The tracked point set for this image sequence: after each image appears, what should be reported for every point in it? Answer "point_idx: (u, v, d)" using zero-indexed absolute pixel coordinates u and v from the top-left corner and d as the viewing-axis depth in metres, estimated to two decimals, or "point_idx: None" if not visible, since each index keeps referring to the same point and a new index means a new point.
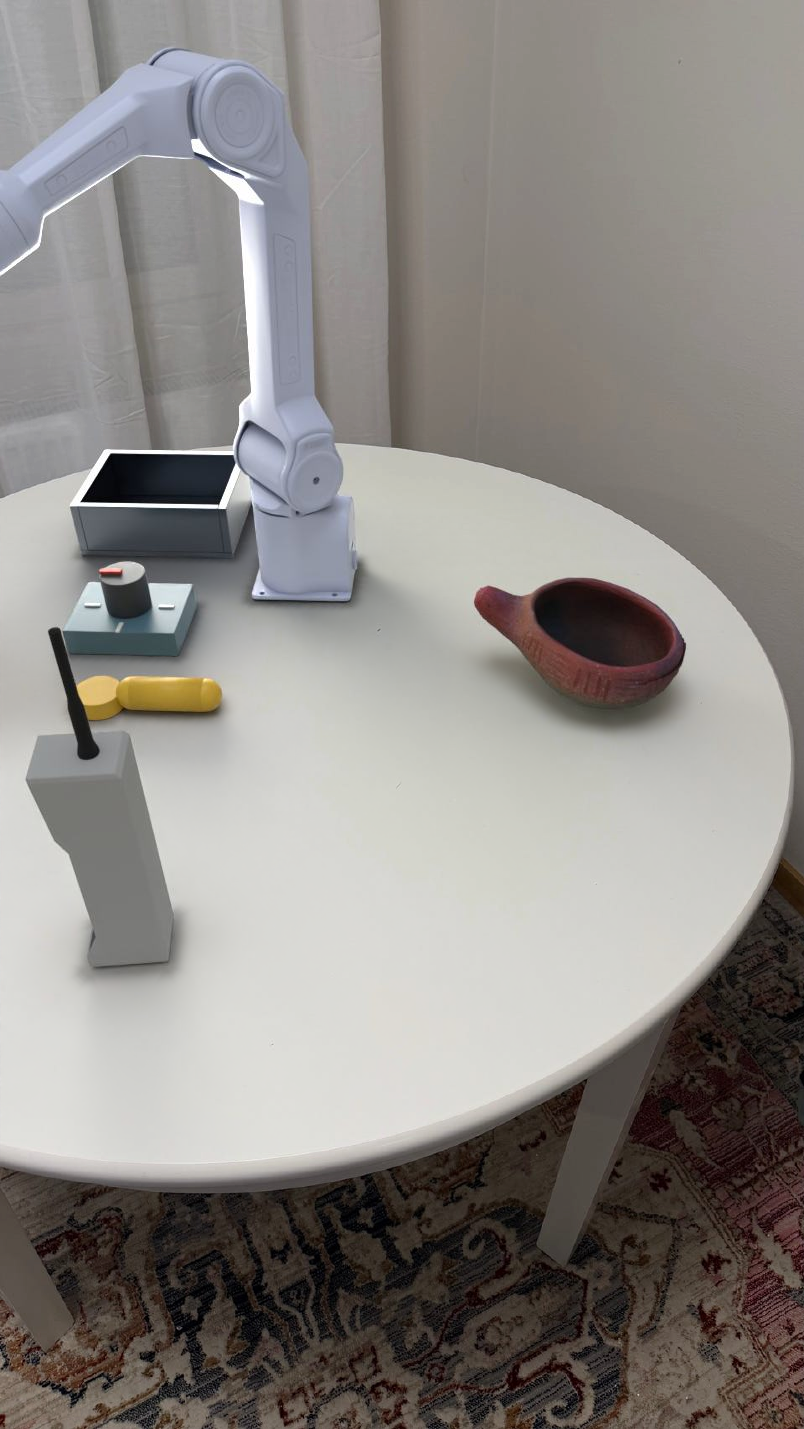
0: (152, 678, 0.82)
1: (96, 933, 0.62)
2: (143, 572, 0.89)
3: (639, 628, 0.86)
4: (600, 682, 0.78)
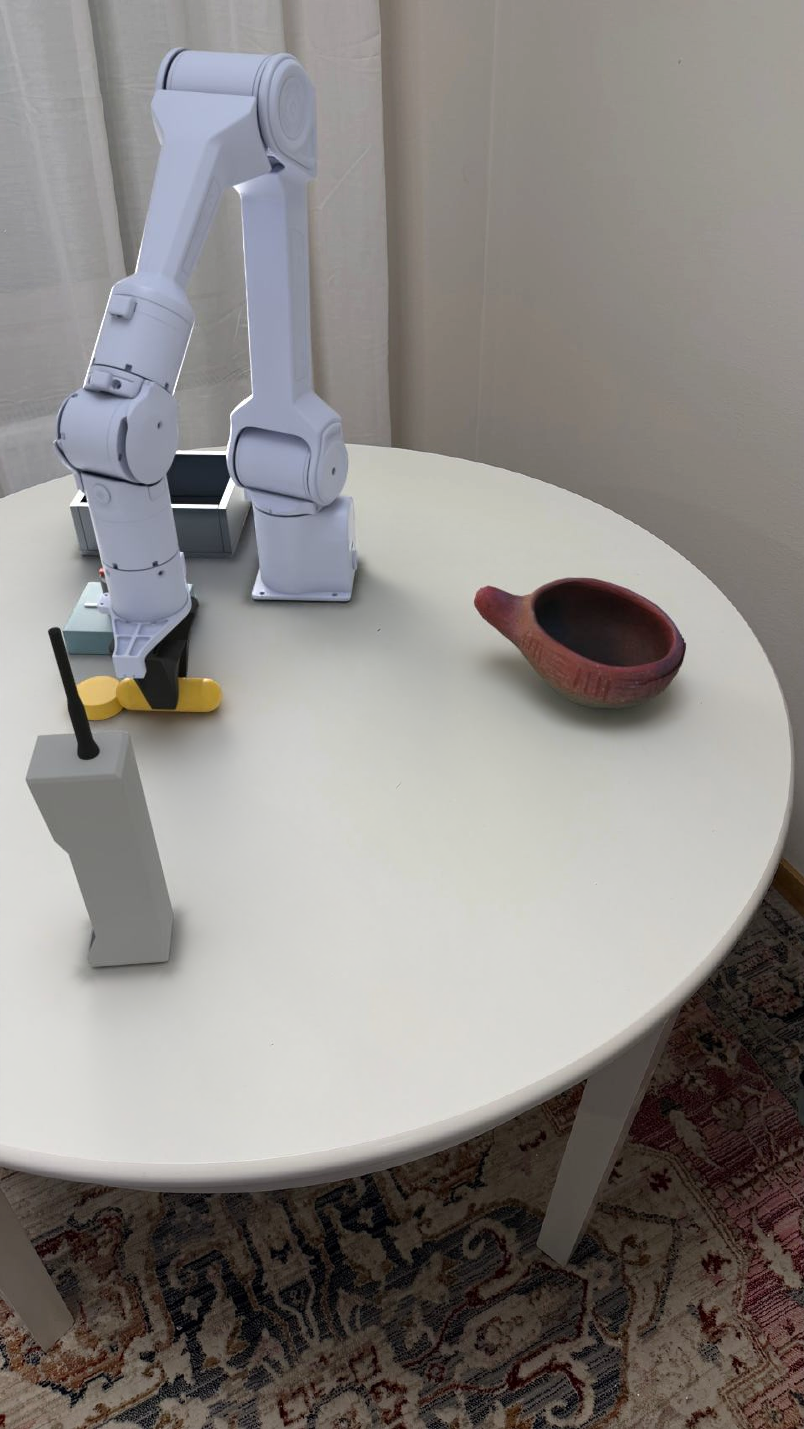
0: None
1: (96, 933, 0.62)
2: None
3: (639, 628, 0.86)
4: (600, 682, 0.78)
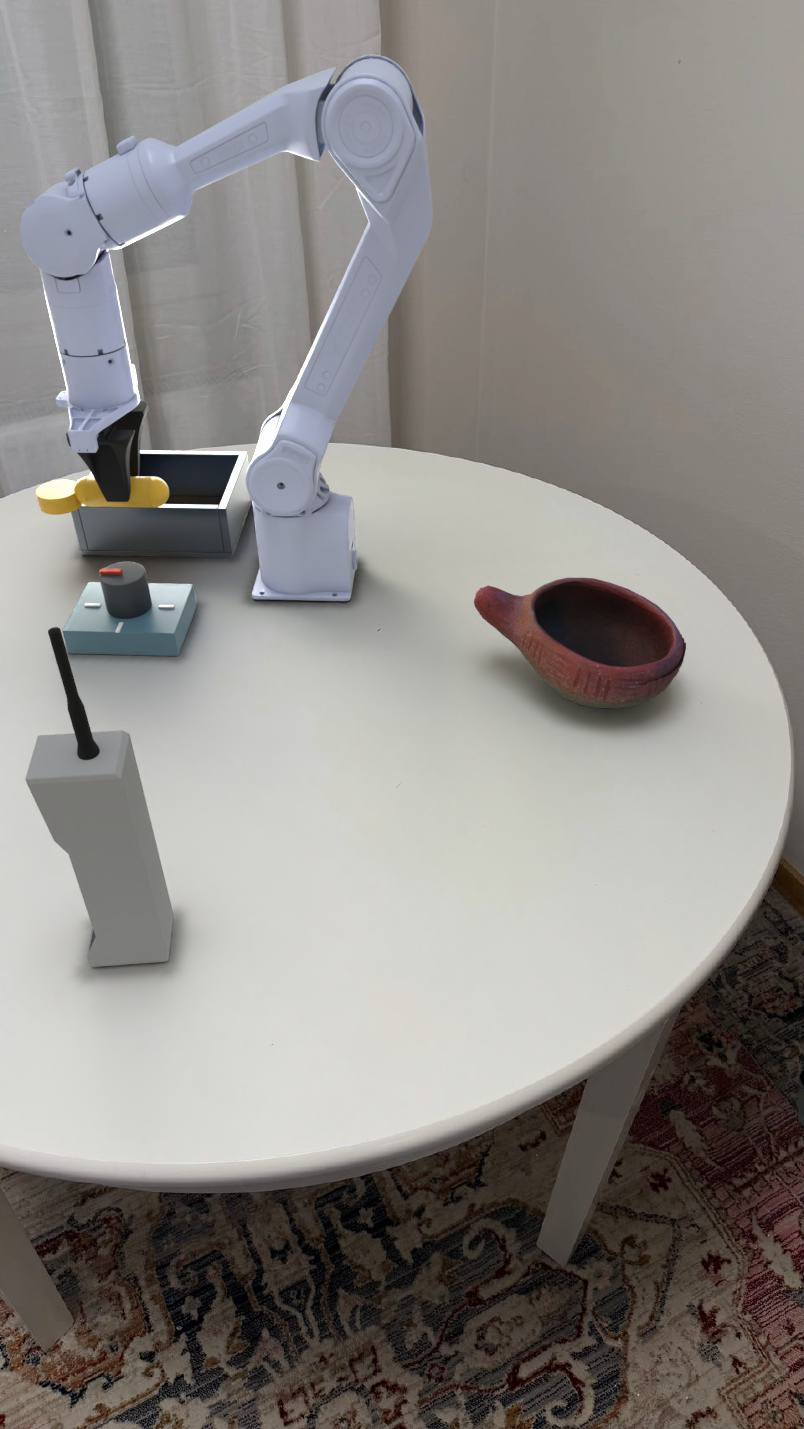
0: None
1: (96, 933, 0.62)
2: (143, 572, 0.89)
3: (639, 628, 0.86)
4: (600, 682, 0.78)
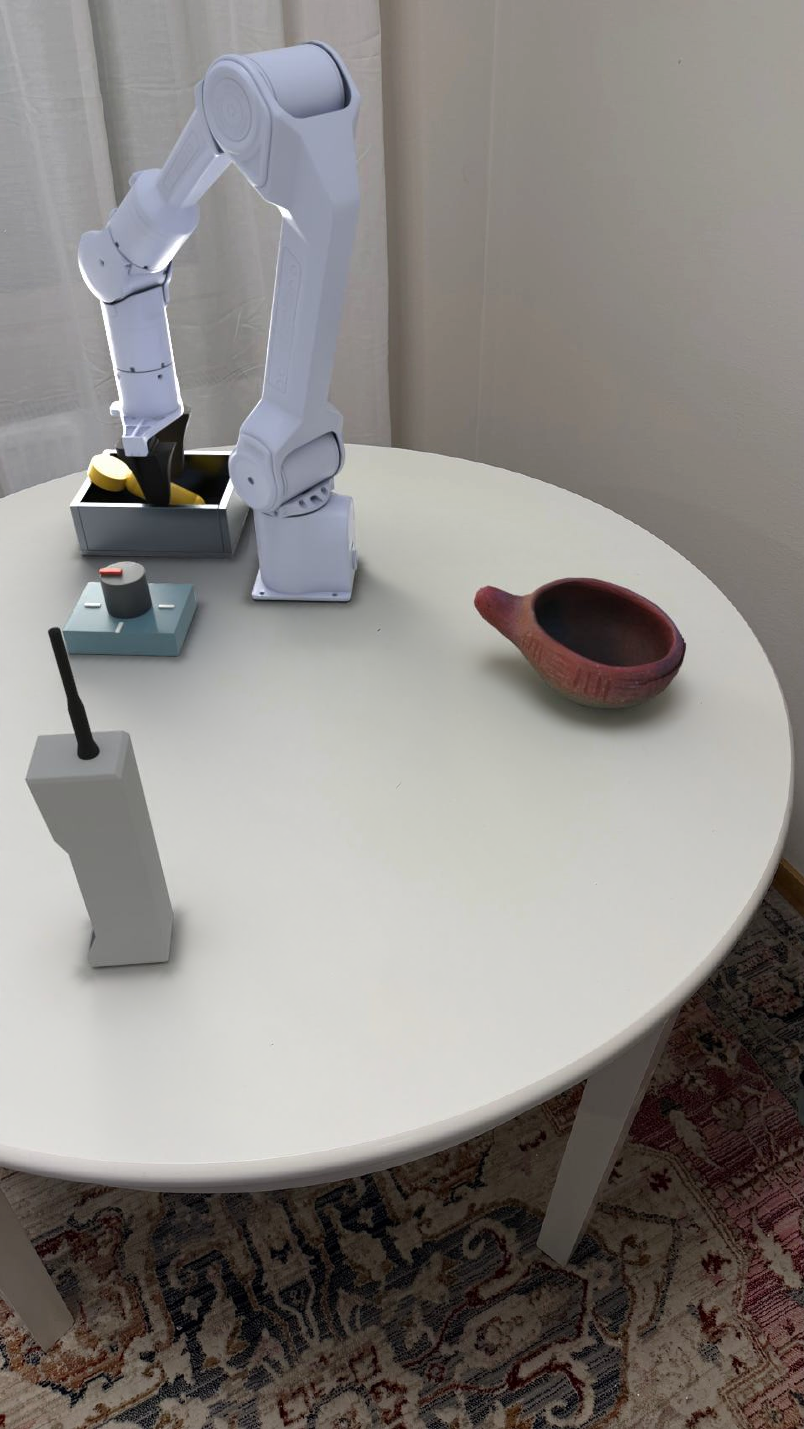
0: None
1: (96, 933, 0.62)
2: (143, 572, 0.89)
3: (639, 628, 0.86)
4: (600, 682, 0.78)
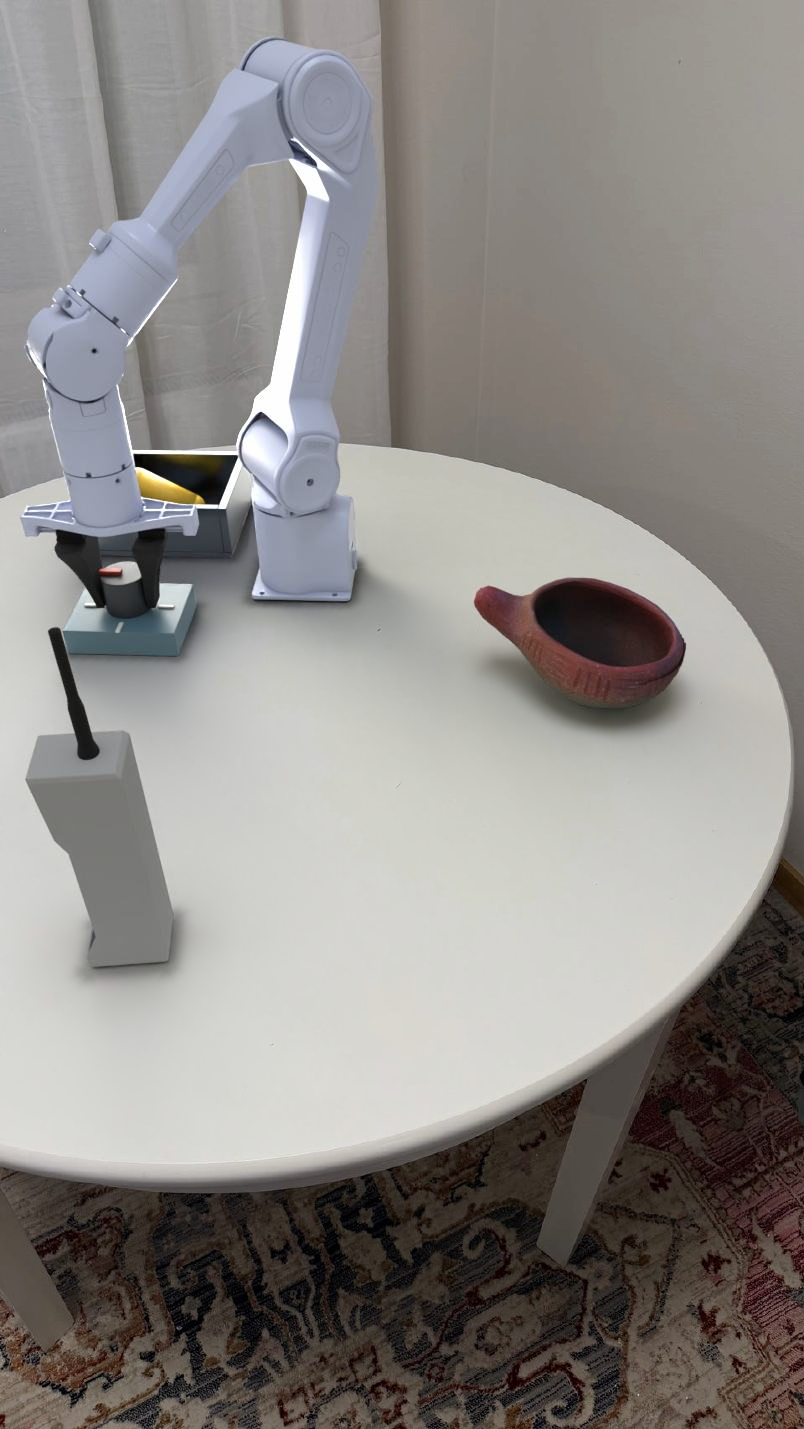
0: (159, 477, 1.04)
1: (96, 933, 0.62)
2: None
3: (639, 628, 0.86)
4: (600, 682, 0.78)
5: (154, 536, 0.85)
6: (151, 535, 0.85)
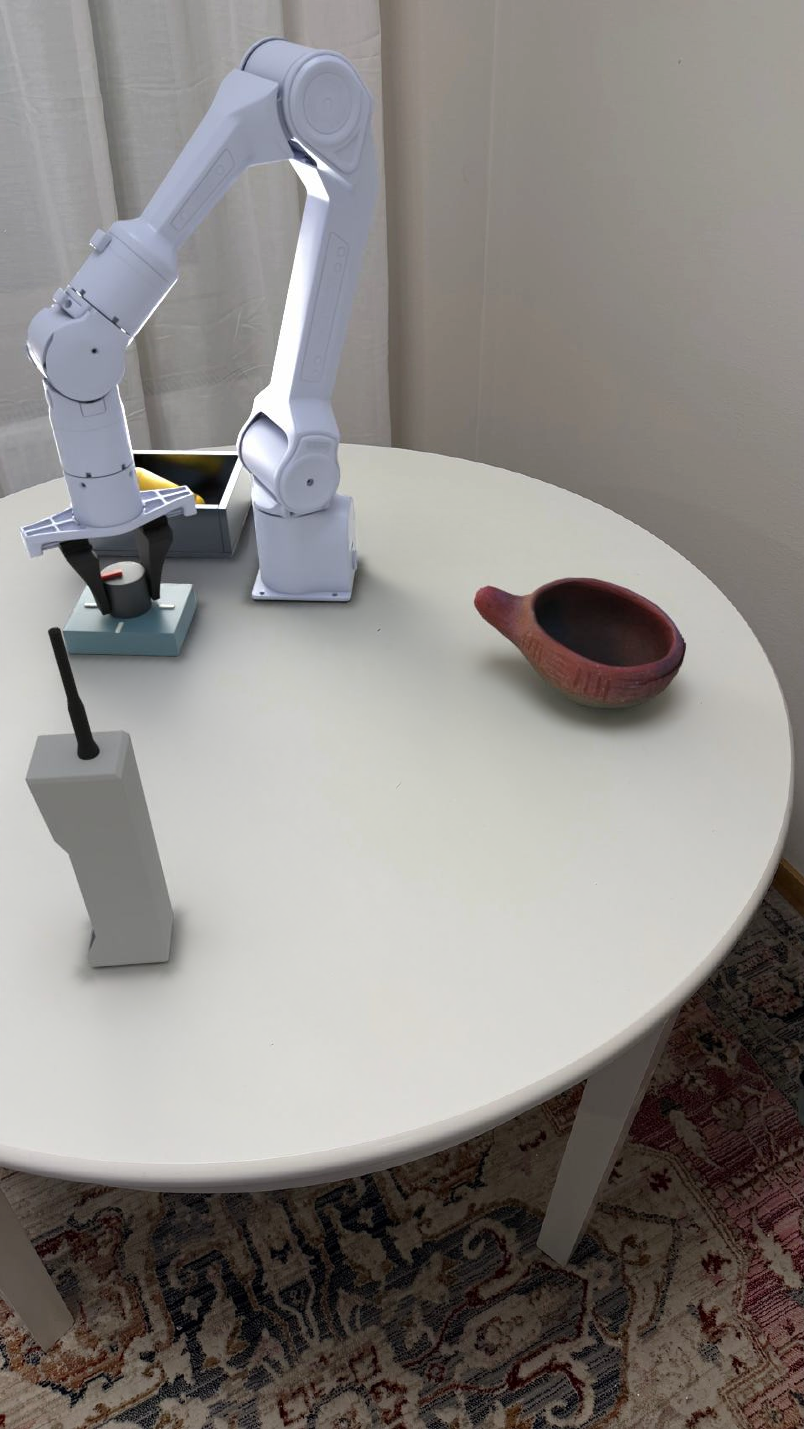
0: (159, 477, 1.04)
1: (96, 933, 0.62)
2: (142, 567, 0.89)
3: (639, 628, 0.86)
4: (600, 682, 0.78)
5: (158, 524, 0.87)
6: (154, 524, 0.87)
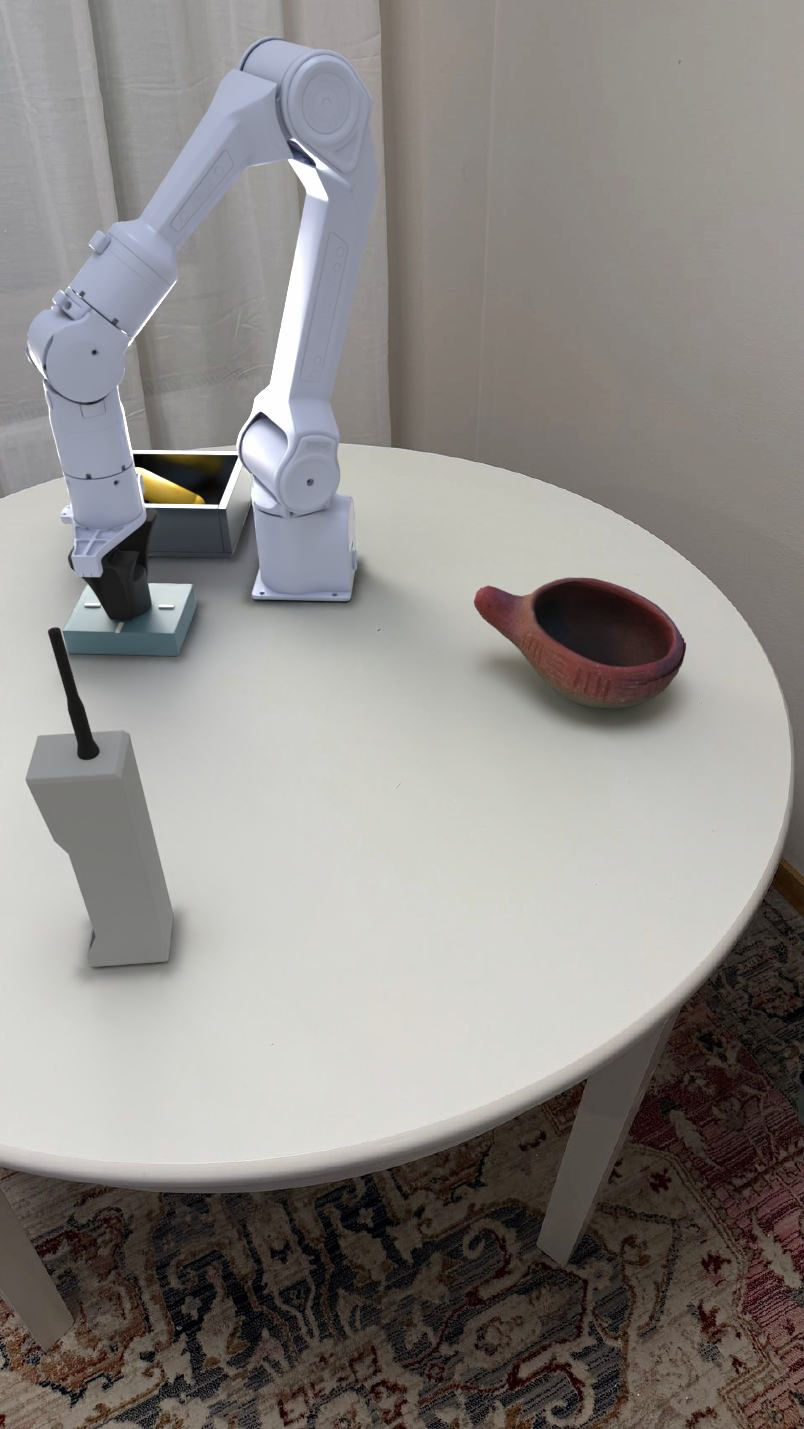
0: (159, 477, 1.04)
1: (96, 933, 0.62)
2: None
3: (639, 628, 0.86)
4: (600, 682, 0.78)
5: None
6: None
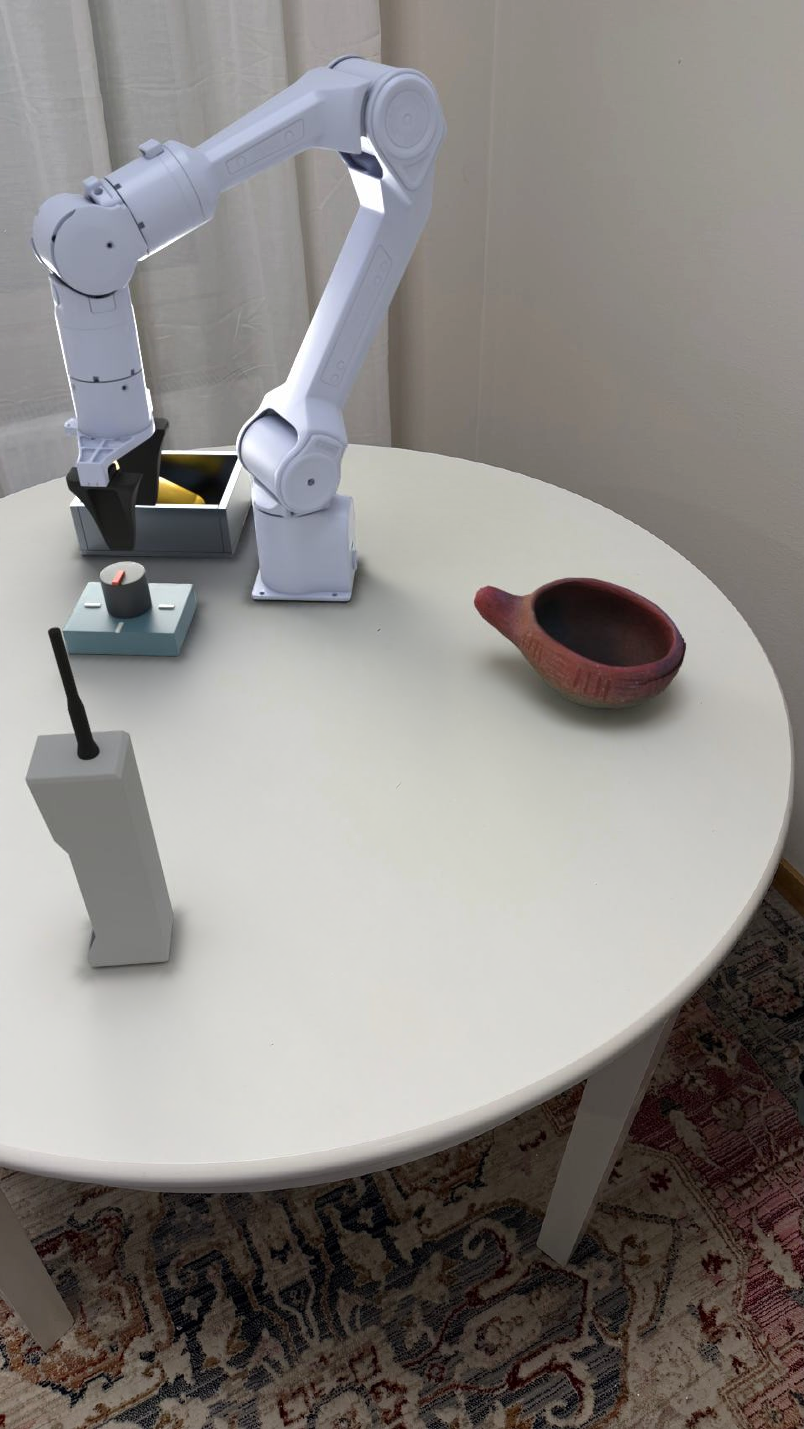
0: (159, 477, 1.04)
1: (96, 933, 0.62)
2: None
3: (639, 628, 0.86)
4: (600, 682, 0.78)
5: None
6: None
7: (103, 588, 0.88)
